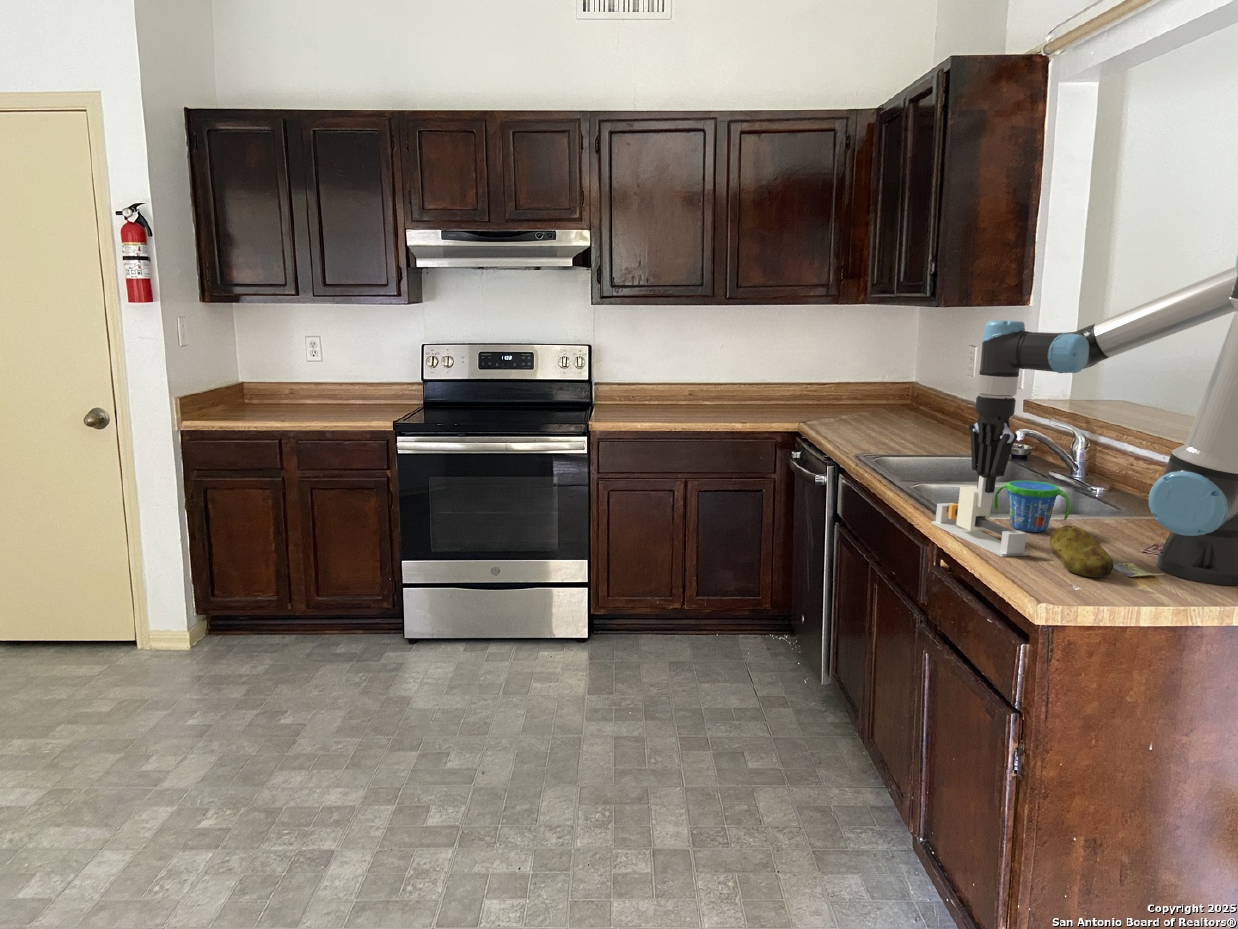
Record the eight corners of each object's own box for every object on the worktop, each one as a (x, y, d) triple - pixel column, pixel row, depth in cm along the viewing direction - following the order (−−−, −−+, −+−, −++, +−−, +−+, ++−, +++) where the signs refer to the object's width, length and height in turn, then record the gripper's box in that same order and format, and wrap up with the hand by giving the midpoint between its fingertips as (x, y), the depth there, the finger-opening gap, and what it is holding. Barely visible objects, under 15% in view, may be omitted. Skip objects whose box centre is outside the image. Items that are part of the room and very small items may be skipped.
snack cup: (984, 526, 195) (989, 482, 193) (1001, 518, 203) (1006, 476, 201) (1057, 540, 185) (1063, 494, 183) (1072, 531, 192) (1078, 487, 190)
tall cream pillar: (988, 530, 184) (992, 491, 183) (970, 530, 184) (974, 492, 182) (973, 523, 189) (978, 486, 188) (956, 524, 188) (960, 486, 187)
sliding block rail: (1027, 555, 174) (1031, 528, 173) (1001, 556, 172) (1005, 530, 171) (954, 522, 198) (957, 499, 196) (931, 523, 196) (933, 499, 195)
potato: (1070, 581, 159) (1076, 539, 157) (1040, 559, 171) (1045, 521, 170) (1116, 582, 158) (1122, 541, 157) (1083, 561, 171) (1088, 522, 169)
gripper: (1033, 399, 172) (1019, 513, 177) (992, 392, 184) (980, 498, 189) (1000, 400, 170) (987, 514, 175) (961, 392, 183) (949, 499, 188)
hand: (983, 506), depth 182 cm, fingers closed
